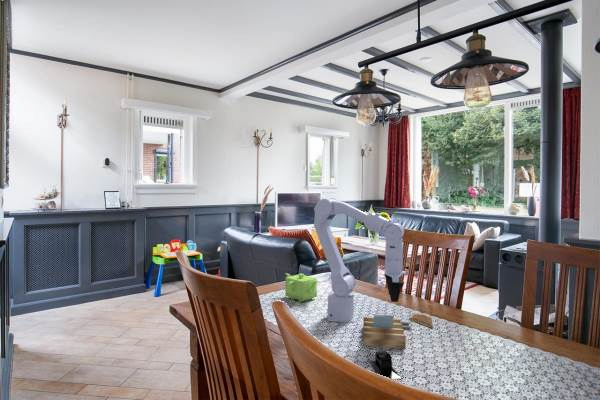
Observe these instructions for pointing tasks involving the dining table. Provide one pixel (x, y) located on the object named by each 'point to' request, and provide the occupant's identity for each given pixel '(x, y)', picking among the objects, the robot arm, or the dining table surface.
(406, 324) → the holder
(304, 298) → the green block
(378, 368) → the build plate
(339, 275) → the robot arm
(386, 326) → the plate
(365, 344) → the rack
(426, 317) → the shard
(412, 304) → the dining table surface
